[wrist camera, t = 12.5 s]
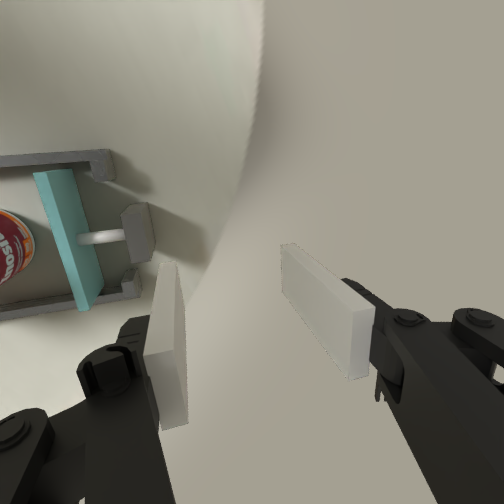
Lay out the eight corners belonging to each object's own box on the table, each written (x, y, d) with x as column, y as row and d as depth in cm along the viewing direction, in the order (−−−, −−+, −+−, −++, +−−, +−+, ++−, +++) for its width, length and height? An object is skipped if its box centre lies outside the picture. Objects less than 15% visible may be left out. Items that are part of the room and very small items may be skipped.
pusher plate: (95, 285, 27) (79, 311, 23) (61, 169, 23) (32, 173, 19) (162, 274, 28) (158, 298, 24) (139, 163, 25) (130, 165, 20)
